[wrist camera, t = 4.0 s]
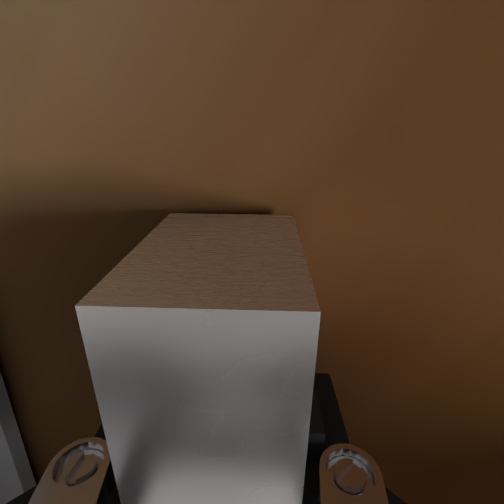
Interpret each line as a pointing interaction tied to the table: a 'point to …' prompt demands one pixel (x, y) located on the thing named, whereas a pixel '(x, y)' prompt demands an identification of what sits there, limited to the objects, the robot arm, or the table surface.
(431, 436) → the table surface
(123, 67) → the table surface
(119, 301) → the tall grey pillar block
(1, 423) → the grey flat plate
